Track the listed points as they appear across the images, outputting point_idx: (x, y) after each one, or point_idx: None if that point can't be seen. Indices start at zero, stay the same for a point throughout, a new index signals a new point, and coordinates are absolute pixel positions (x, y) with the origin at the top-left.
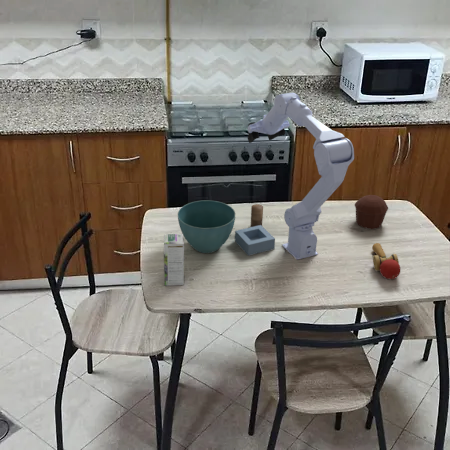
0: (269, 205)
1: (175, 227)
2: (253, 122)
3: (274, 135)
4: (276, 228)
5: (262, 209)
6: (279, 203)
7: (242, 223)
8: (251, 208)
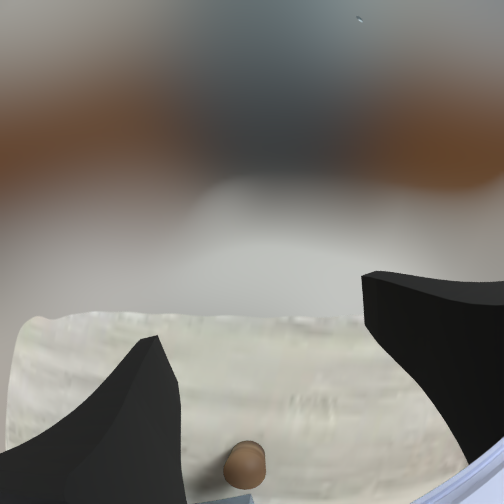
0: (314, 332)
1: (52, 401)
2: (35, 498)
3: (430, 387)
4: (305, 465)
5: (260, 482)
6: (345, 322)
7: (212, 428)
8: (223, 470)
